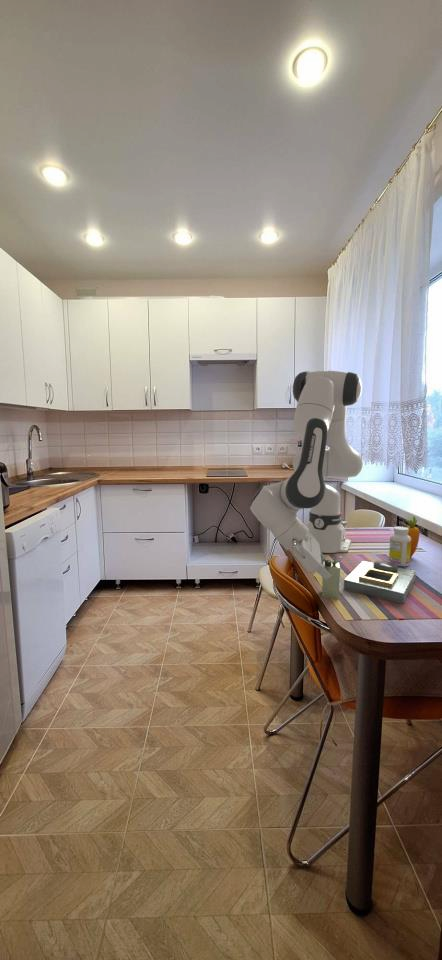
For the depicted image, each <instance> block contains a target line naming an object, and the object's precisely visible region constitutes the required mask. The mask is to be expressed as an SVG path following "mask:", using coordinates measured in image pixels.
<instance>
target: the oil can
mask: <svg viewBox="0 0 442 960" xmlns="http://www.w3.org/2000/svg"><path fill="white" fill-rule="evenodd" d="M342 560H343V557H342V556H341V555H340V556H339V557H337V558H336V559H335V560H333V561H332V560H330V559H327V560H325V562H324V561H323V565H322V566H323V567H324V568H325V569H326V570H328V571H329V572H330V574H331V577H330V578H329V579H327V580H326V579H325V578H324V577H323V576H322V575H321V576H322V577H321V579H322V580H321V597H322V599H333V600H340V599H339V598H340V582H341V581H340V578H341V566H340V561H342Z"/></svg>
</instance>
